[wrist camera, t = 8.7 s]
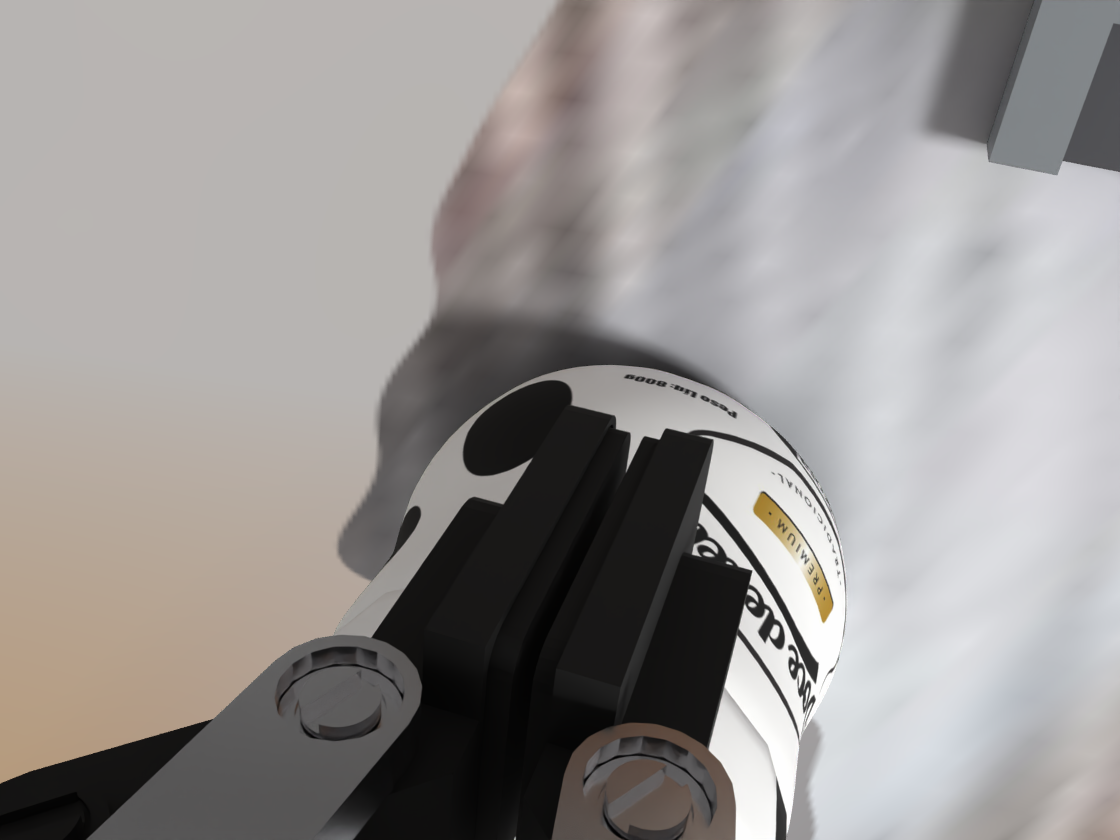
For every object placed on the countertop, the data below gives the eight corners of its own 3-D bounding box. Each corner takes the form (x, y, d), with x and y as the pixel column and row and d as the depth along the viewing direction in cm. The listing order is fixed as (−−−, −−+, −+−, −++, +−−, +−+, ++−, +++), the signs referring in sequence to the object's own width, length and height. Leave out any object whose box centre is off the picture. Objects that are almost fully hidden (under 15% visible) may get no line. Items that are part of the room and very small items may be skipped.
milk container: (939, 455, 40) (933, 842, 25) (746, 734, 50) (659, 1134, 35) (523, 260, 41) (283, 517, 26) (414, 569, 51) (193, 885, 36)
